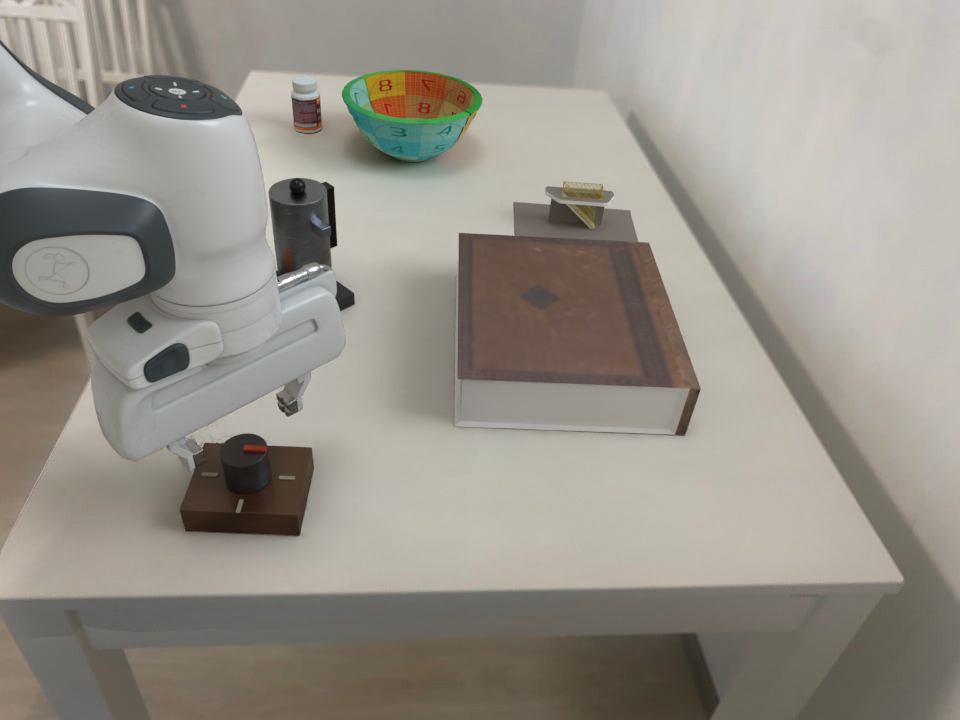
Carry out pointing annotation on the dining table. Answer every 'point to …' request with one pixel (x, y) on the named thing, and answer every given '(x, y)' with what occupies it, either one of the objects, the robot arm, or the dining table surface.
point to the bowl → (411, 111)
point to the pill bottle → (306, 105)
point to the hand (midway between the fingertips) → (244, 435)
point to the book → (567, 338)
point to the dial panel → (250, 496)
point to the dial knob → (245, 463)
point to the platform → (575, 215)
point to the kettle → (302, 223)
